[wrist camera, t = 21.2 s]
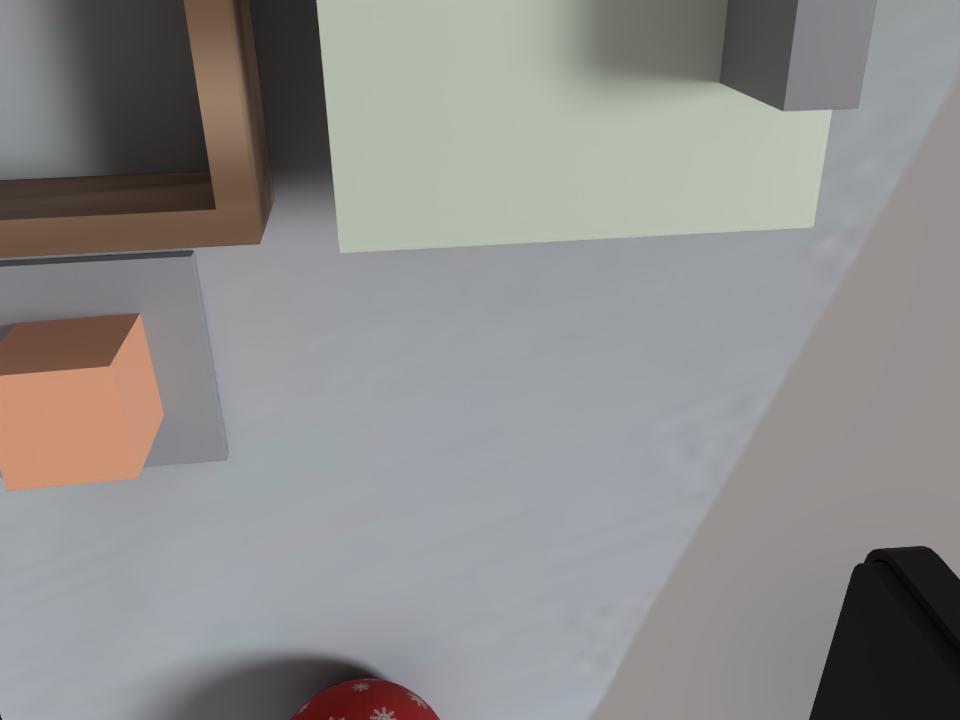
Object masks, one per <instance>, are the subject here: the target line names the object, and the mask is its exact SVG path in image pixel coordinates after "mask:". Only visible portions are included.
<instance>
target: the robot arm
mask: <svg viewBox="0 0 960 720" xmlns="http://www.w3.org/2000/svg"><path fill="white" fill-rule="evenodd" d="M0 720H2V718H1V715H0ZM809 720H960V579H959V578H958V577H957V576H956V575H955V574H954V573H953V572H952V570H951V569H950V568H949V567H948V566H947V565H946V563H945V562H944V561H943V560H942V559H941V558H940V557H939V555H938V554H936V553H935V552H934V551H933V550H932V549H930V548H927V547H925V546H915V547H901V548H885V549H875V550H872V551H871V552H870V553H869V554H868V555H867V557H866V559H865V562H864V563H861V564H858V565H857V566H855V568H854V570H853V572H852V575H851V578H850V582H849V585H848V588H847V592H846V595H845V599H844V602H843V606H842V609H841V612H840V616H839V619H838V623H837V626H836V629H835V633H834V636H833V640H832V644H831V646H830V650H829V654H828V657H827V660H826V664H825V667H824V670H823V674H822V677H821V681H820V684H819V688H818V691H817V694H816V698H815V701H814V704H813V708H812V711H811V715H810V718H809Z"/></svg>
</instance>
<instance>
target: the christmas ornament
mask: <svg viewBox="0 0 960 720" xmlns="http://www.w3.org/2000/svg"><path fill="white" fill-rule="evenodd" d="M291 720H440V719H439V718H438V716H437V715H436V714H435V712H434V711H433V710H432V709H431V707H430V706H429V705H428V704H427V703H426V702H425V701H424V700H422V699H421V698H420V697H419V696H418V695H416V694H415V693H413V692H412V691H410V690H408V689H407V688H405V687H403V686H400V685H398V684H395V683H392V682H389V681H385V680H379V679H355V680H349V681H345V682H342V683H339V684H336V685H333V686H331V687H329V688H327V689H325V690H323V691H321V692H320V693H318V694H317V695H315V696H314V697H312V698H311V699H310V700H308V701H307V702H306V703H305V704H304V705H303V706H302V707H301V708H300V709H299V710H298V711H297V712H296V713H295V714H294V716H293V717H292V718H291Z"/></svg>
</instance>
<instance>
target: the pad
mask: <svg viewBox="0 0 960 720" xmlns="http://www.w3.org/2000/svg"><path fill="white" fill-rule="evenodd" d="M135 313H140V315H141V319H142V323H143V327H144V332H145V336H146V340H147V344H148V349H149V353H150V357H151V362H152V366H153V370H154V374H155V379H156V383H157V387H158V392H159V396H160V400H161V404H162V409H163V413H164V417H163V419H162V422H161V424H160V427H159V429H158V431H157V434H156V436H155V439H154V441H153V444H152V446H151V449H150V451H149V454H148V456H147V459H146V461H145V463H144V466H143V467H149V466H162V465H175V464H188V463H201V462H214V461H226V460H227V457H228V447H227V441H226V436H225V430H224V424H223V418H222V412H221V406H220V401H219V395H218V389H217V383H216V377H215V371H214V366H213V360H212V354H211V348H210V342H209V336H208V330H207V325H206V319H205V313H204V307H203V301H202V295H201V290H200V284H199V278H198V272H197V266H196V260H195V255H194V251H185V252H166V253H148V254H129V255H111V256H92V257H73V258H55V259H36V260H17V261H0V342H1V341H2V340H3V339H4V338H5V337H6V335H7V334H8V333H9V332H10V331H11V330H12V328H13V327H14V326H15V325H16V324H17V323H24V322H36V321H49V320H61V319H73V318H86V317H98V316H110V315H123V314H135ZM0 477H1V478H3V476H2V473H1V470H0Z"/></svg>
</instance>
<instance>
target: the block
mask: <svg viewBox="0 0 960 720" xmlns="http://www.w3.org/2000/svg"><path fill="white" fill-rule="evenodd" d="M163 417H164V413H163V409H162V404H161V400H160V396H159V392H158V387H157V383H156V379H155V374H154V370H153V366H152V362H151V357H150V353H149V349H148V344H147V340H146V336H145V332H144V327H143V323H142V319H141V315H140V313H135V314H123V315H110V316H98V317H86V318H73V319H61V320H49V321H36V322H24V323H17V324H16V325H15V326H14V327H13V328H12V330H11V331H10V332H9V333H8V334H7V335H6V337H5V338H4V339H3V340H2V341H1V342H0V470H1V473H2V476H3V479H4V482H5V485H6V488H7V491H12V490H22V489H33V488H43V487H53V486H64V485H74V484H84V483H95V482H105V481H115V480H125V479H136V478H139V476H140V473H141V471H142V468H143V466H144V463H145V461H146V459H147V456H148V454H149V451H150V449H151V446H152V444H153V441H154V439H155V436H156V434H157V431H158V429H159V427H160V424H161V422H162V419H163Z"/></svg>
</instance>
